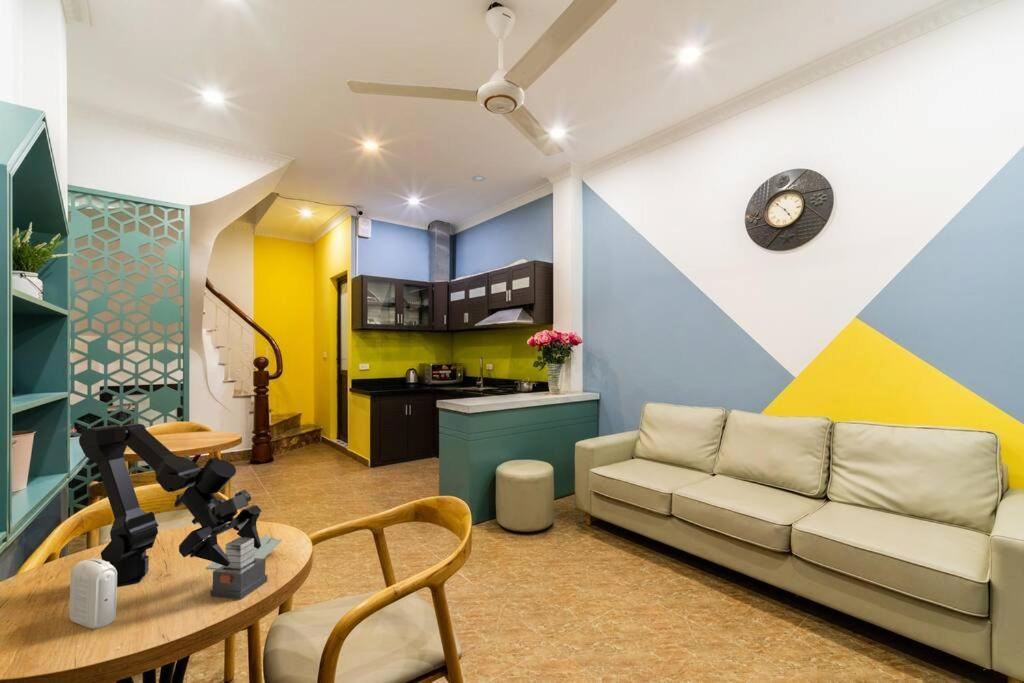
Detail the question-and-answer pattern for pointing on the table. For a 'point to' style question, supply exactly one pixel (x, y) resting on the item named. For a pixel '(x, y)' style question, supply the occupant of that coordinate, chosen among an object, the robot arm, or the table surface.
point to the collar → (238, 580)
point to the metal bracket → (256, 550)
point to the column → (240, 553)
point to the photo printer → (93, 593)
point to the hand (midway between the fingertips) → (244, 555)
